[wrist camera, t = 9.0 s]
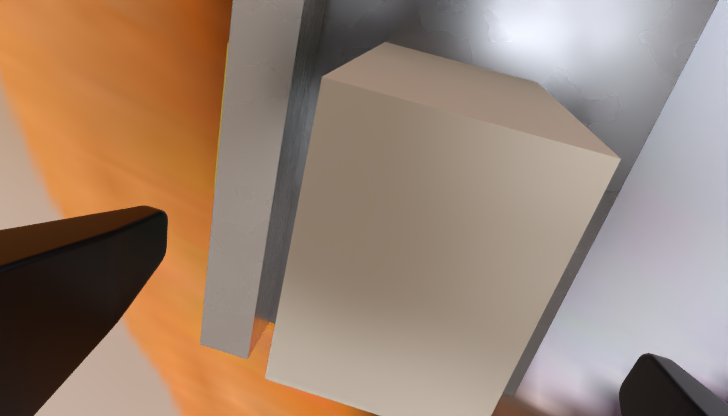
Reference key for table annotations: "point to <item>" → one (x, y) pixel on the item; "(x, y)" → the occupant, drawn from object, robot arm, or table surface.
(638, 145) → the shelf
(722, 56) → the table surface
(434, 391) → the tea box
